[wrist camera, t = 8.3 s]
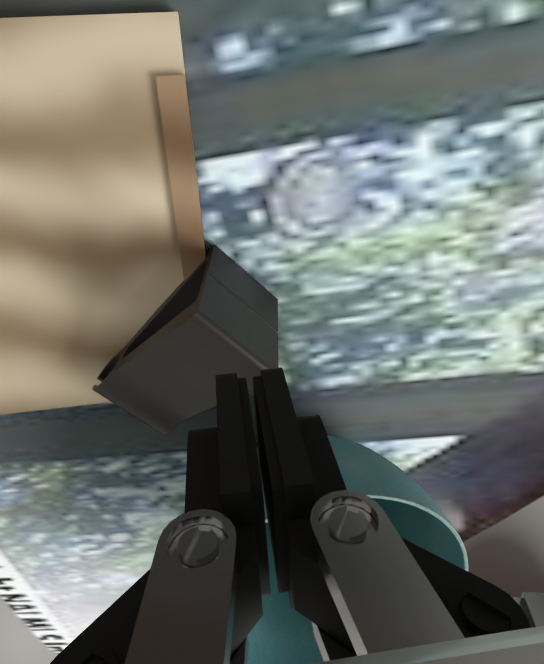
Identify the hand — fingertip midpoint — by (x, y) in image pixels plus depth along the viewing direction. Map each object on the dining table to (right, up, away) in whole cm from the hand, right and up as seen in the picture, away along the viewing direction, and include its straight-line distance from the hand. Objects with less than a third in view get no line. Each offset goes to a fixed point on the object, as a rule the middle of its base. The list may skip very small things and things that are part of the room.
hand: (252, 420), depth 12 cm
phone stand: (-1, +4, +17) cm, 18 cm away
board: (-12, +8, +19) cm, 24 cm away
